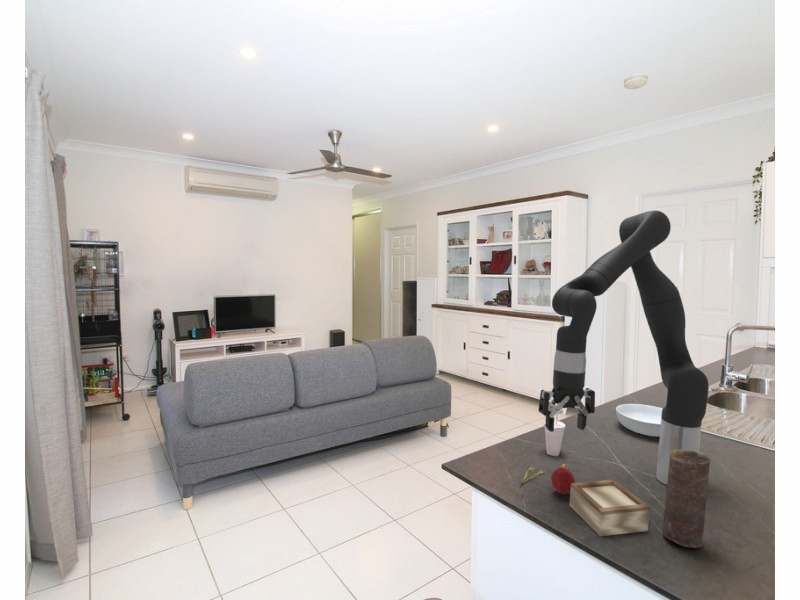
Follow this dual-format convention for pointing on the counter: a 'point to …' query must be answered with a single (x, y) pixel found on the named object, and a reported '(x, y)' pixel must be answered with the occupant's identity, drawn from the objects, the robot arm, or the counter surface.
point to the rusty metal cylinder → (686, 497)
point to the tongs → (531, 477)
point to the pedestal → (609, 507)
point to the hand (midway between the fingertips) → (565, 429)
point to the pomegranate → (562, 480)
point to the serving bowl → (640, 418)
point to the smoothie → (554, 437)
